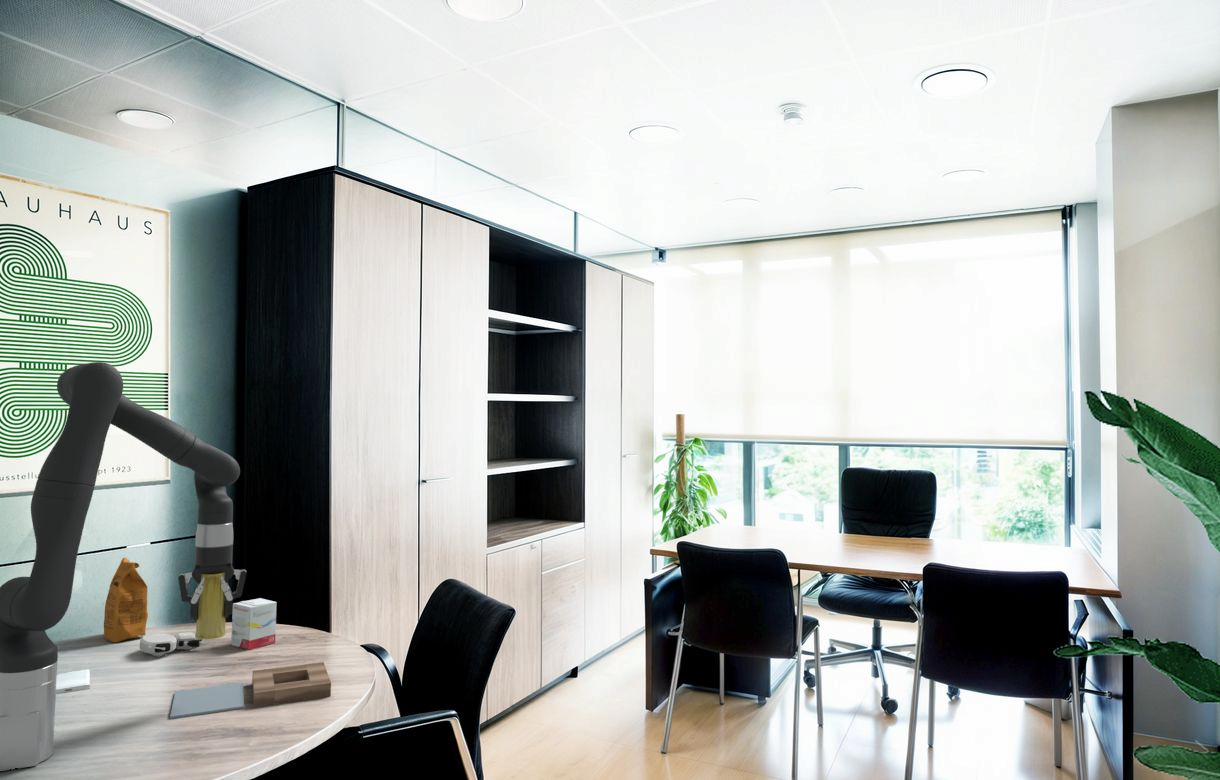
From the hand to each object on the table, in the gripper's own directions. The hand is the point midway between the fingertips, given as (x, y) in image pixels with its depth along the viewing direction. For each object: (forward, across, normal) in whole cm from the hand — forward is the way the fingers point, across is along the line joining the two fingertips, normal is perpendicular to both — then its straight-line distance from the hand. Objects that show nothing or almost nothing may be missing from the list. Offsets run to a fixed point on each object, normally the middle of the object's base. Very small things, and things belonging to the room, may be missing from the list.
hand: (211, 617), depth 168 cm
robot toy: (+19, -10, +44) cm, 49 cm away
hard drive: (+19, -30, +25) cm, 44 cm away
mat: (+18, 0, 0) cm, 18 cm away
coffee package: (+19, -23, +64) cm, 70 cm away
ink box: (+19, +10, +42) cm, 47 cm away
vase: (+4, 0, 0) cm, 4 cm away
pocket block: (+18, +17, 0) cm, 25 cm away
